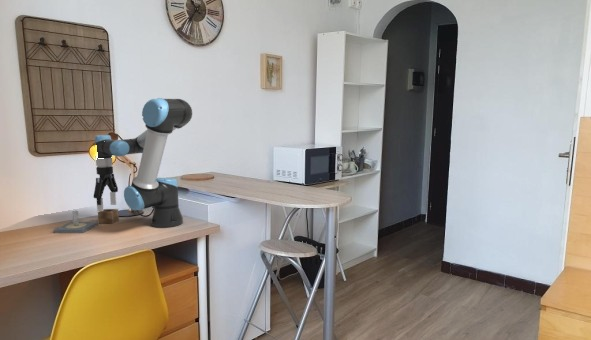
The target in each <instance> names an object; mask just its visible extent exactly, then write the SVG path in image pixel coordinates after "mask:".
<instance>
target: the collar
mask: <svg viewBox="0 0 591 340" xmlns="http://www.w3.org/2000/svg"><path fill="white" fill-rule="evenodd" d="M119 217H120V216H119V209H118V208H103V211H97V218H98V221H97V222H98V225H114V224H115V223H117V222H119V220H120V218H119Z"/></svg>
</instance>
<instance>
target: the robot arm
mask: <svg viewBox="0 0 591 340" xmlns="http://www.w3.org/2000/svg"><path fill="white" fill-rule="evenodd" d="M141 116H142V121H143V123H144V124H145V128H146V130H145V131H144V132H142V133H140V135H138V136H136V137H134V138H128V139H112V138H111V137H112V136H111V135H110V134H97V135H95V136H94V143H96V145H97V152H98V158H104V159H98V158H97V160H96V159H95V160H96V161H95V166H96V167H95V168H96V175H98V176H99V177H95V184H94V185H95V187H94V192H93V198H94V199H96V210H97V212H99V211H103V210H104V200H103V199H104V198H103V195H104V190H105V188H106V187H108V189H109V191H110V192H109V196H110V197H109V198H110V206H111V205H112V206H113V205H114V206H116V205H117V194H116V193H119V188H118V187H119V186H118V185H117V182H116V178H115V174H114V167H113V163H114V162H113V157H115V156H116V157H124V156H127V155H136V154H141V159H140V162H139V167H138V170H137V171H138V172H137V175H136V176H134V177H133V178H132V181H131V184H130V185H127V186H126V187H124V191H123V197H124V202H125V203H126V205H127V207H128V208H129V209H131V210H133V211H143V210H144V209H148V208H152V207H153V208H154V209H153V212H152V217H151V222H150V224H151V226H152V227H154V228H160V229H161V228H172V227H176V226H177V227H178V226H180V225H182V224H184V218H183V215H182V212H181V210H180V207H179V186H178V180H177V179H176V178H173V177H171V178H170V177H158V174H159V171H160V167H161V164H162V160H163V156H164V151H165V147H166V144H167V140H168V136H169V135H170V134H173V132H174V131H175V130H176V129H177V130H179V129H182V128H183V127H185V126H186V125H187V124H189V123H190V122H191V119H192V117H193V109H192V107H191V105H190V103H188V102H187V100H184V99H181V98H163V97H161V98H160V97H158V98H151V99H149V100H148V101H146V102H145V104H144V105H143V108H142V112H141ZM104 141H105V142H104ZM111 157H112V158H111Z"/></svg>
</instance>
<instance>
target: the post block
mask: <svg viewBox="0 0 591 340" xmlns="http://www.w3.org/2000/svg"><path fill="white" fill-rule="evenodd" d="M71 214H72V221H70V222H67V223H65V224H63V225H61V226H59V227H57V228H54V229H53V233H55V234H84V233H85V232H87V231H89V230H91V229H93V228H95V227H96V226H99V221H80V220H79V210H74V211H72V212H71Z"/></svg>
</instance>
